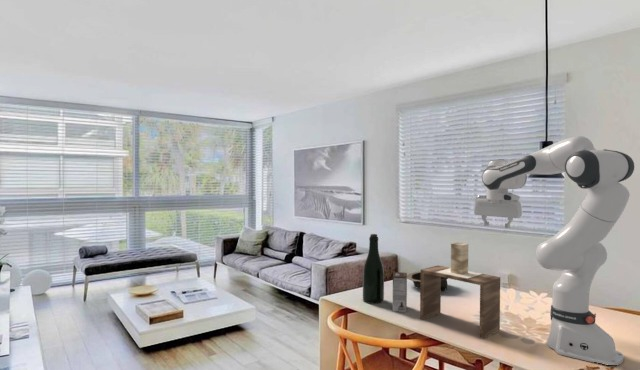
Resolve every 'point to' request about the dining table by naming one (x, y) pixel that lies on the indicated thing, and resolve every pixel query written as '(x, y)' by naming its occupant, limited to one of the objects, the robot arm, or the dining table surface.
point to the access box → (488, 283)
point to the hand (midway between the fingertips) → (496, 226)
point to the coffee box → (399, 291)
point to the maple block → (459, 258)
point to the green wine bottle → (373, 274)
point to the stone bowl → (416, 280)
